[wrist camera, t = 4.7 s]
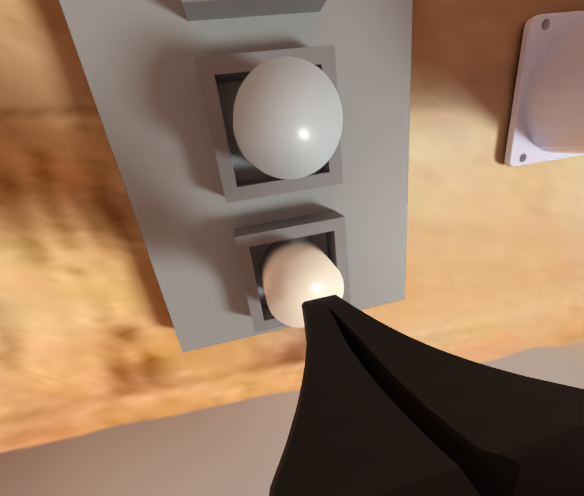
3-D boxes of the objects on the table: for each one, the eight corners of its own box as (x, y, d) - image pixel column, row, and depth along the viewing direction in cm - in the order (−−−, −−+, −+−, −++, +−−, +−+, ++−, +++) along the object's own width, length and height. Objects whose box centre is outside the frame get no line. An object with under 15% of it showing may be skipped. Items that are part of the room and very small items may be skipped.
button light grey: (313, 75, 11) (339, 51, 8) (320, 165, 12) (345, 170, 10) (224, 84, 11) (221, 62, 8) (242, 178, 12) (245, 187, 9)
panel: (388, -171, 11) (449, -296, 8) (388, 285, 20) (419, 312, 16) (18, -181, 10) (-91, -348, 6) (188, 331, 18) (178, 372, 14)
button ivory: (320, 230, 15) (341, 249, 12) (326, 288, 16) (346, 317, 13) (254, 242, 14) (259, 265, 11) (266, 302, 15) (273, 335, 13)
